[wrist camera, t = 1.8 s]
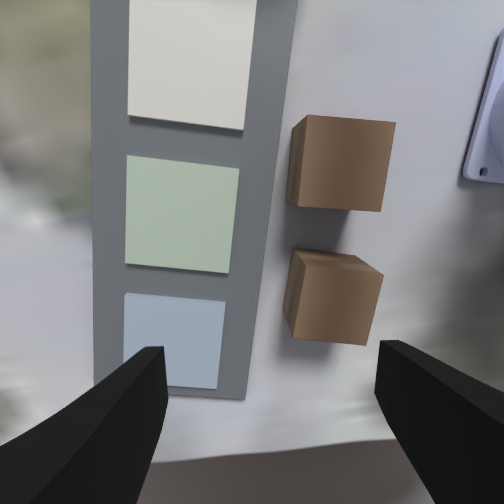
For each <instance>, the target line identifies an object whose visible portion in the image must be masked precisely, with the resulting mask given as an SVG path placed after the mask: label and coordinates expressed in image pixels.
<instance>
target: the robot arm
mask: <svg viewBox="0 0 504 504" xmlns="http://www.w3.org/2000/svg"><path fill="white" fill-rule="evenodd" d="M481 168H482V169H483V173H482V175H480V174H479V171H480V169H481ZM463 176H464V177H465V178H466V179H469V180H477V181H485V182H493V183H501V184H504V28H503V30H502V31H501V33H500V37H499V40H498V44H497V48H496V51H495V55H494V59H493V62H492V66H491V70H490V73H489V77H488V80H487V84H486V88H485V91H484V95H483V99H482V102H481V106H480V110H479V113H478V117H477V121H476V124H475V128H474V132H473V135H472V139H471V142H470V146H469V150H468V153H467V157H466V161H465V164H464V168H463ZM374 393H375V396H376V398H377V400H378V403H379V405H380V408H381V410H382V412H383V414H384V416H385V419H386V421H387V423H388V425H389V426H390V428H391V430H392V432H393V433H394V435H395V437H396V438H397V440H398V442H399V443H400V445H401V447H402V449H403V450H404V452H405V454H406V455H407V457H408V459H409V460H410V462H411V464H412V465H413V467H414V468H415V470H416V471H417V474H418V475H419V477H420V479H421V480H422V482H423V484H424V485H425V487H426V489H427V490H428V492H429V494H430V495H431V497H432V499H433V501H434V502H435V504H504V393H503V392H501V391H499V390H497V389H495V388H493V387H491V386H489V385H487V384H484V383H482V382H480V381H478V380H476V379H474V378H472V377H470V376H468V375H466V374H464V373H462V372H460V371H458V370H457V369H455V368H453V367H451V366H449V365H447V364H445V363H443V362H441V361H439V360H438V359H436V358H434V357H432V356H430V355H428V354H426V353H424V352H422V351H420V350H418V349H416V348H415V347H413V346H410V345H408V344H406V343H404V342H402V341H399V340H380V346H379V355H378V364H377V373H376V382H375V391H374ZM167 404H168V388H167V376H166V365H165V353H164V346H145V347H144V348H142V349H141V350H140V351H138V352H137V353H136V354H134V355H133V356H132V357H131V358H130V359H128V360H127V361H126V362H125V363H123V364H122V365H121V366H120V367H118V368H117V369H116V370H115V371H113V372H112V373H111V374H110V375H108V376H107V377H106V378H104V379H103V380H102V381H101V382H99V383H98V384H97V385H95V386H94V387H92V388H91V389H90V390H88V391H87V392H86V393H84V394H83V395H81V396H80V397H79V398H77V399H76V400H75V401H73V402H72V403H70V404H69V405H68V406H66V407H65V408H63V409H62V410H60V411H59V412H57V413H56V414H54V415H53V416H51V417H49V418H48V419H46V420H45V421H43V422H41V423H40V424H38V425H37V426H35V427H33V428H32V429H30V430H28V431H27V432H25V433H23V434H22V435H20V436H18V437H16V438H15V439H13V440H11V441H9V442H7V443H5V444H4V445H2V446H0V504H136V503H137V500H138V497H139V494H140V492H141V489H142V486H143V483H144V480H145V477H146V474H147V472H148V469H149V466H150V463H151V460H152V457H153V454H154V451H155V449H156V446H157V443H158V440H159V437H160V434H161V431H162V427H163V422H164V418H165V413H166V409H167Z"/></svg>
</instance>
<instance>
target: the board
mask: <svg viewBox="0 0 504 504" xmlns="http://www.w3.org/2000/svg"><path fill="white" fill-rule="evenodd" d="M296 8H297V0H90V21H91V128H92V236H93V343H94V386H95V385H97V384H98V383H99V382H101V381H102V380H103V379H104V378H106V377H107V376H108V375H110V374H111V373H112V372H113V371H115V370H116V369H117V368H118V367H120V366H121V365H122V364H123V363H125V362H126V361H127V360H128V359H130V358H131V357H132V356H133V355H134V354H136V353H137V352H138V351H140V350H141V349H142V348H144V347H145V346H164V353H165V365H166V376H167V388H168V394H169V395H184V396H198V397H212V398H227V399H241V400H245V398H246V390H247V382H248V375H249V367H250V359H251V352H252V344H253V336H254V329H255V321H256V314H257V306H258V298H259V291H260V283H261V275H262V268H263V260H264V252H265V245H266V237H267V230H268V222H269V214H270V207H271V199H272V191H273V184H274V176H275V168H276V161H277V153H278V146H279V138H280V130H281V123H282V115H283V107H284V100H285V92H286V84H287V77H288V69H289V61H290V54H291V46H292V39H293V31H294V23H295V16H296Z"/></svg>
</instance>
